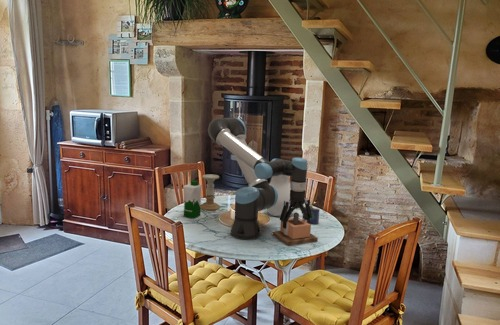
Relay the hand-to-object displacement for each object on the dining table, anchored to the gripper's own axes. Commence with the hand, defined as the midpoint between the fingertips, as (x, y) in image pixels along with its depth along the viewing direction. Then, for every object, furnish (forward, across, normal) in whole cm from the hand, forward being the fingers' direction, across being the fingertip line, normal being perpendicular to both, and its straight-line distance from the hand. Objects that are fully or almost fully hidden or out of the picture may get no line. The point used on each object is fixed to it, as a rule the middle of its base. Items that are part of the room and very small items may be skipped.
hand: (294, 233), depth 187 cm
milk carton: (+3, -38, +49) cm, 62 cm away
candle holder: (+3, -23, +61) cm, 65 cm away
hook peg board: (+3, 0, 0) cm, 3 cm away
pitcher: (+3, +15, +40) cm, 43 cm away
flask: (+3, +21, +17) cm, 27 cm away
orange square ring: (0, 0, 0) cm, 0 cm away
